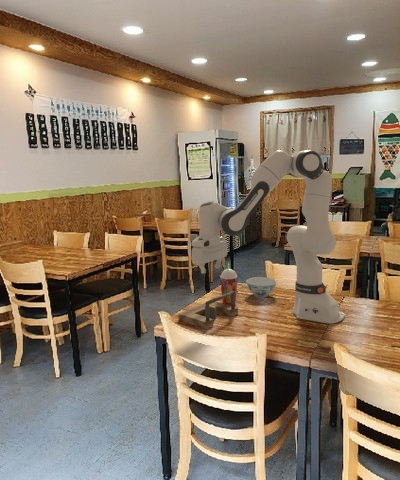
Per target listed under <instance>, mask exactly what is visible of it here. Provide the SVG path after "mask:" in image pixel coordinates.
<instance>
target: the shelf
mask: <svg viewBox="0 0 400 480" xmlns="http://www.w3.org/2000/svg"><path fill="white" fill-rule="evenodd" d="M230 295H231V305H226V304H224V303H222V302H218V301H222V299H223V298H225V297H228V296H230ZM205 305H206V317H205ZM209 305H214V306H216V314H221V315H224V316H227V317H231V318H232V317H235V316H237V315H239V307H237V306H236V301H235V291H231V292H229V293H227V294H224V295H222V294H221V295H219V296H217V297H215V298H212V299H210V300H207V301H205V302H203V303H202V304H199V305H196V306H194V307H192V308H190V309H186V310H184V311H182V312H180V313H178V321H180V322H183V323H186V324H189V325H192V326H194V327H195V326H196V327H198V328H201V329H205V330H208V329H210V328H212V327H214V319H211V318H210V311H209Z"/></svg>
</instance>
